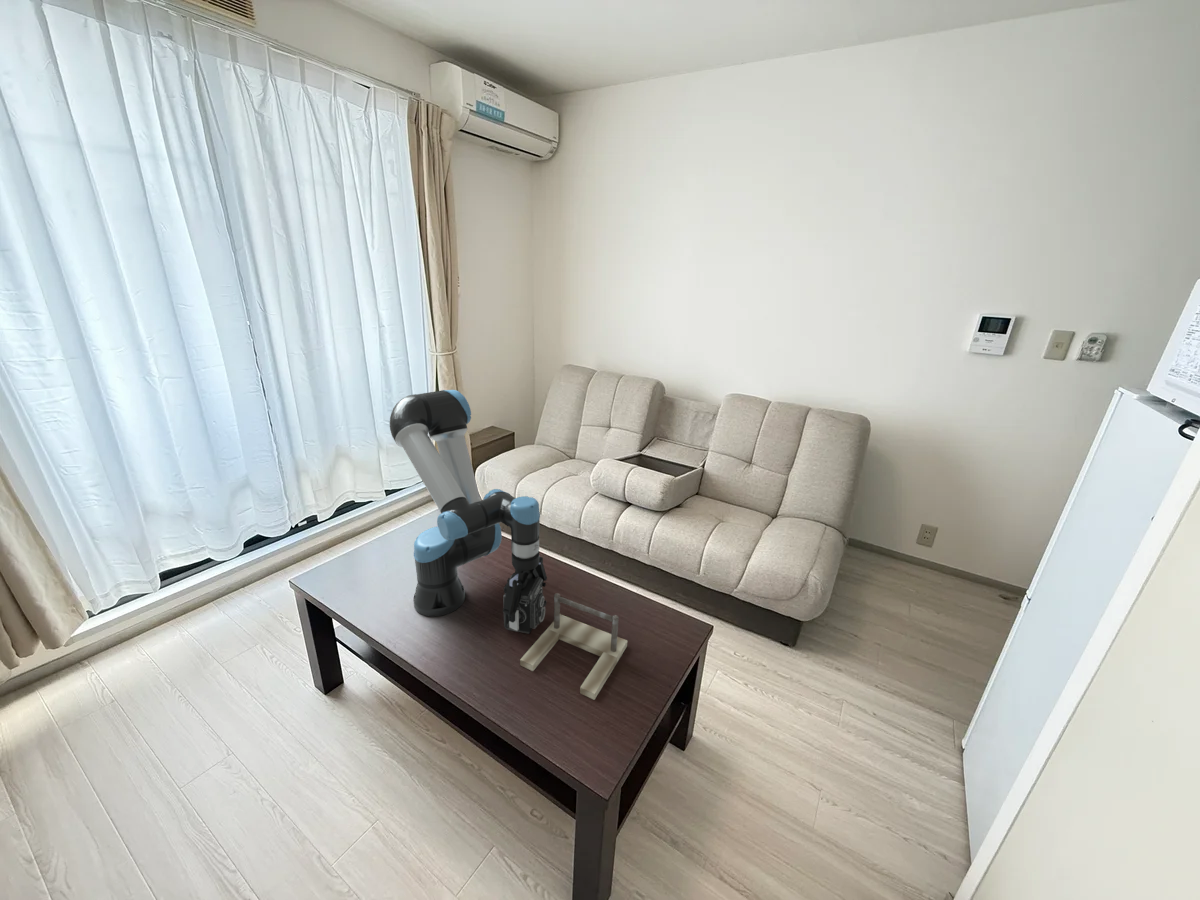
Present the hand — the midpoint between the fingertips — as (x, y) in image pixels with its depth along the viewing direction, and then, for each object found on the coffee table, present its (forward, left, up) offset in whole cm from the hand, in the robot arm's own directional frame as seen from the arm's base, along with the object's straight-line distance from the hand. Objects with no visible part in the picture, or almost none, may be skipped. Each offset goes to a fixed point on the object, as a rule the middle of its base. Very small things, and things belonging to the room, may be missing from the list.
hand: (526, 616), depth 134 cm
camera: (0, 0, -3) cm, 3 cm away
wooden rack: (+18, -3, -3) cm, 19 cm away
